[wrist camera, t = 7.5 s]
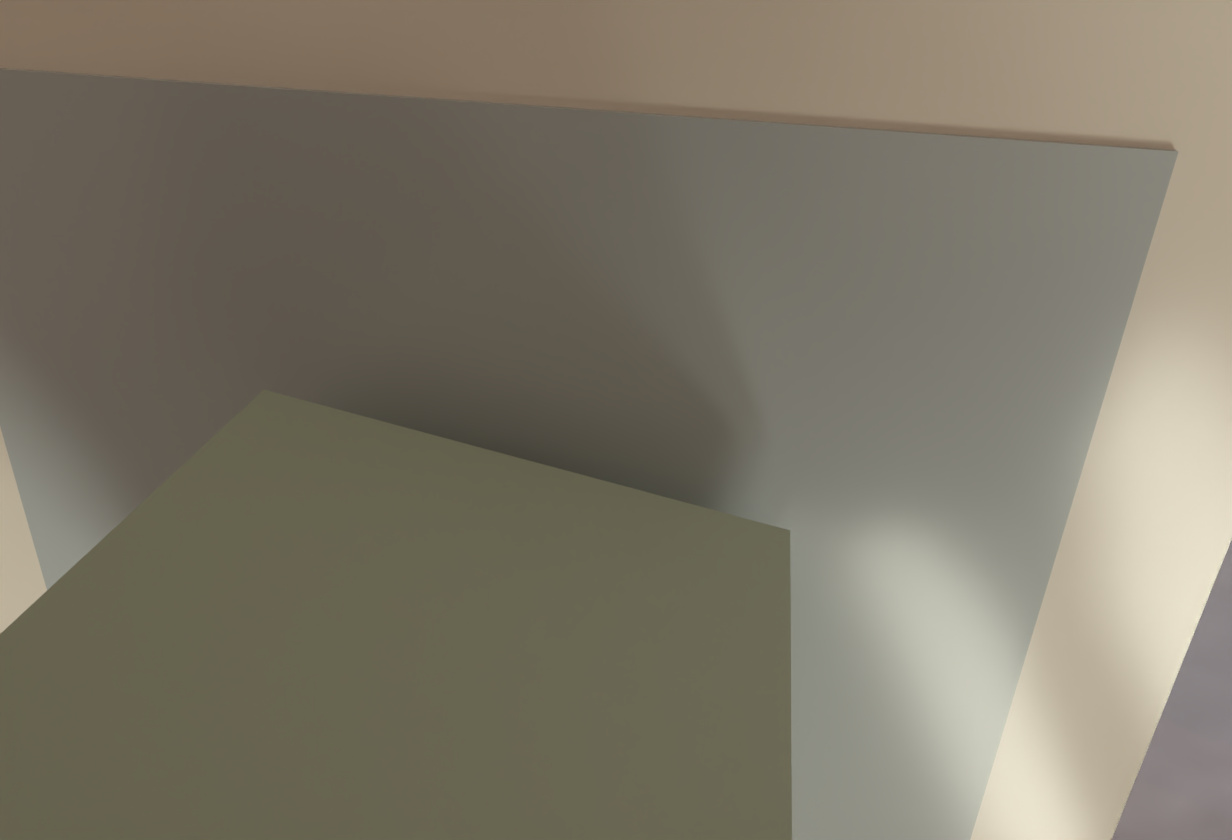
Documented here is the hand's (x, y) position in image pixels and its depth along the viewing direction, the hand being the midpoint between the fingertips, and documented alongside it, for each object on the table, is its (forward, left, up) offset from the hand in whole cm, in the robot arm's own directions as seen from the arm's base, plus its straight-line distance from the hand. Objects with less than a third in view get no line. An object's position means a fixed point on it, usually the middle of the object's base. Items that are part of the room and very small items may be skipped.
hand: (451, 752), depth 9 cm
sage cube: (0, 0, -1) cm, 1 cm away
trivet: (0, 0, -3) cm, 3 cm away
